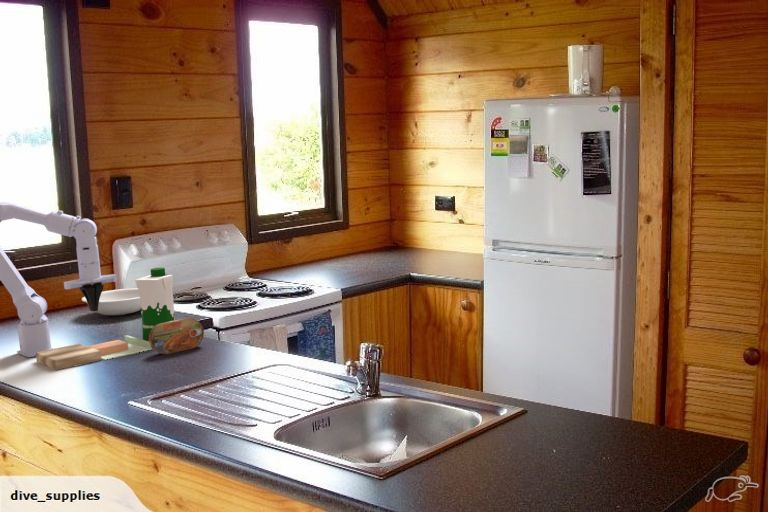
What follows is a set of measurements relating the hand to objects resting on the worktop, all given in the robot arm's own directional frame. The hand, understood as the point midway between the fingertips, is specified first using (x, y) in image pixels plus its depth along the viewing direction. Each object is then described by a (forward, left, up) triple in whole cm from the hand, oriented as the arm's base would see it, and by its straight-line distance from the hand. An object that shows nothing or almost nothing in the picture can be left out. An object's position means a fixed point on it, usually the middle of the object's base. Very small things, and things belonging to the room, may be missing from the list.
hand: (94, 310), depth 255 cm
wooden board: (+9, -12, -10) cm, 18 cm away
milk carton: (+6, +16, -11) cm, 20 cm away
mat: (+9, +1, -10) cm, 14 cm away
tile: (+9, -1, -10) cm, 14 cm away
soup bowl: (-41, +26, -11) cm, 50 cm away
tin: (+24, +12, -11) cm, 29 cm away
